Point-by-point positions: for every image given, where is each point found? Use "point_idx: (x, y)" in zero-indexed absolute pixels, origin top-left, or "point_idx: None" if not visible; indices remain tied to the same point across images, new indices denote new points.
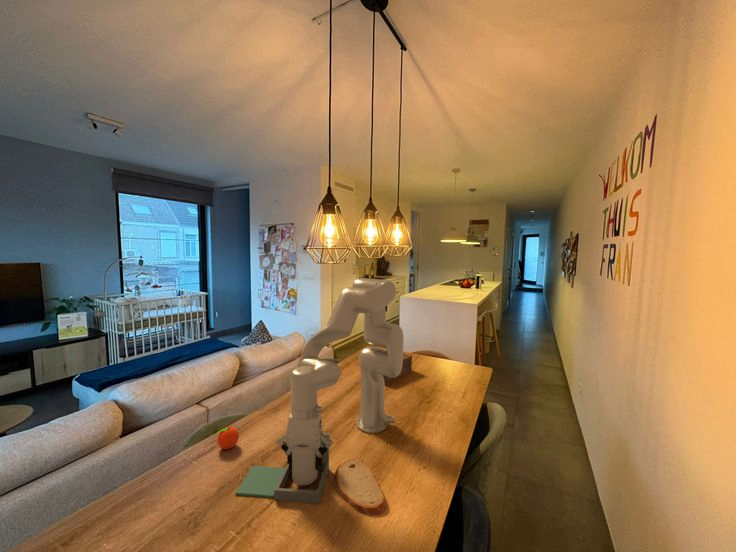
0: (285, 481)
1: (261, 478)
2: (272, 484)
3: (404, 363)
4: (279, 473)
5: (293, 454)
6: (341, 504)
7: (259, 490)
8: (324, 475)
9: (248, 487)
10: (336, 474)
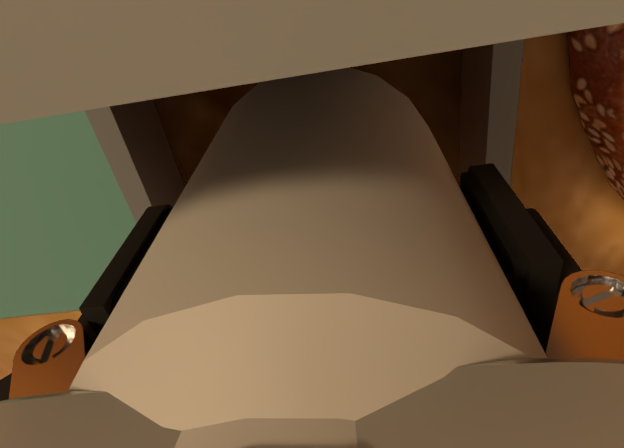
0: (179, 183)
1: (4, 208)
2: (118, 234)
3: None
4: (79, 131)
5: None
6: (619, 249)
7: (83, 285)
8: (511, 166)
9: (4, 281)
10: (618, 74)
